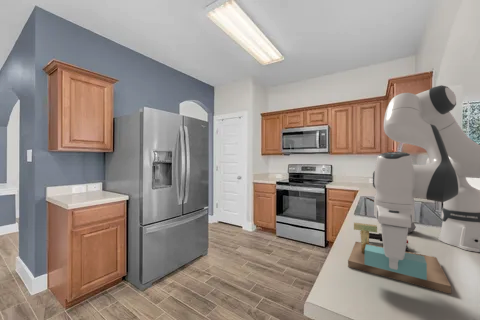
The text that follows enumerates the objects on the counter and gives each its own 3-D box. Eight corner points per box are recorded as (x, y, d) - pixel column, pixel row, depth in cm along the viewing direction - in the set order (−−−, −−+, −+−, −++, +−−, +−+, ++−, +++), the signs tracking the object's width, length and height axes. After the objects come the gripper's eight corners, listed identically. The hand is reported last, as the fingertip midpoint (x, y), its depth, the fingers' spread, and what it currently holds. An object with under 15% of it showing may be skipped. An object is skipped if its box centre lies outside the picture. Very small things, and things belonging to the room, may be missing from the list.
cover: (423, 271, 55) (423, 256, 55) (426, 280, 51) (426, 263, 51) (366, 257, 62) (366, 244, 62) (364, 264, 58) (364, 250, 58)
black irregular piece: (365, 239, 81) (415, 247, 74) (362, 221, 98) (402, 226, 91) (365, 252, 81) (414, 261, 75) (362, 232, 99) (402, 237, 92)
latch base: (436, 263, 71) (436, 257, 71) (451, 293, 54) (451, 286, 54) (355, 246, 84) (355, 241, 84) (348, 266, 68) (348, 260, 68)
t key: (353, 243, 82) (353, 218, 82) (374, 246, 79) (374, 220, 79) (353, 251, 75) (353, 224, 75) (377, 255, 71) (377, 226, 71)
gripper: (380, 204, 67) (380, 247, 67) (377, 218, 50) (377, 275, 50) (405, 206, 63) (405, 252, 63) (411, 222, 47) (411, 284, 46)
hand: (393, 263), depth 56 cm, fingers closed on cover, 5 cm apart
